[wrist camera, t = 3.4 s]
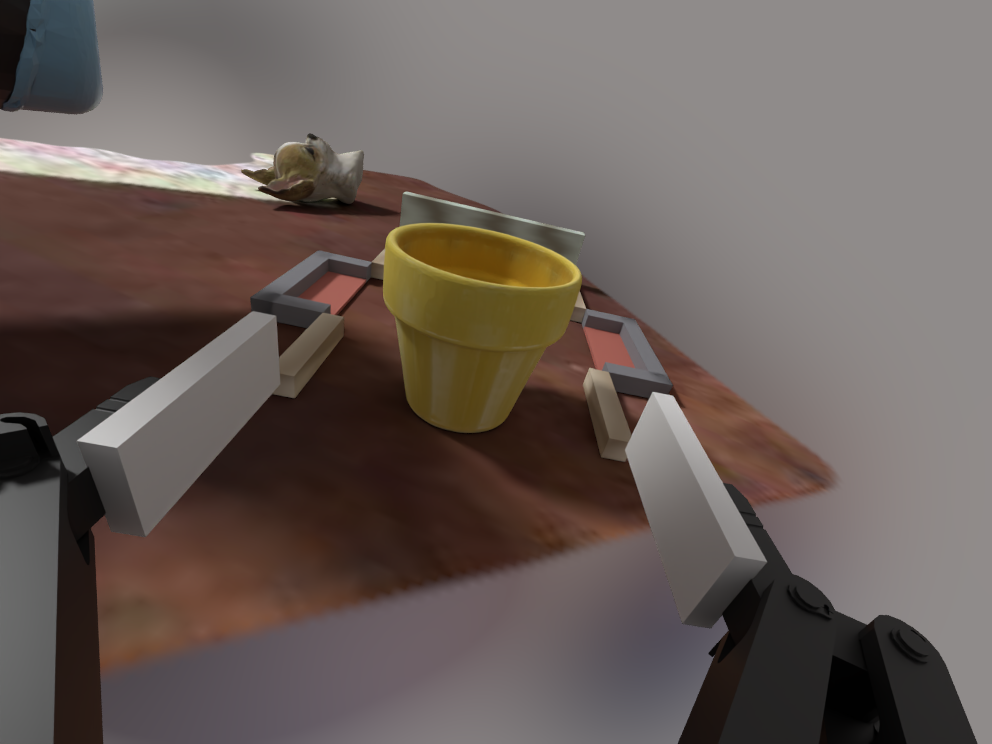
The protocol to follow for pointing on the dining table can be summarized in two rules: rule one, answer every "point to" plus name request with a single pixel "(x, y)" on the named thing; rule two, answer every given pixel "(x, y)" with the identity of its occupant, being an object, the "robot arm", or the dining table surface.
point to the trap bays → (339, 278)
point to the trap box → (422, 209)
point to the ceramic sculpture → (311, 172)
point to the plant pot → (473, 318)
